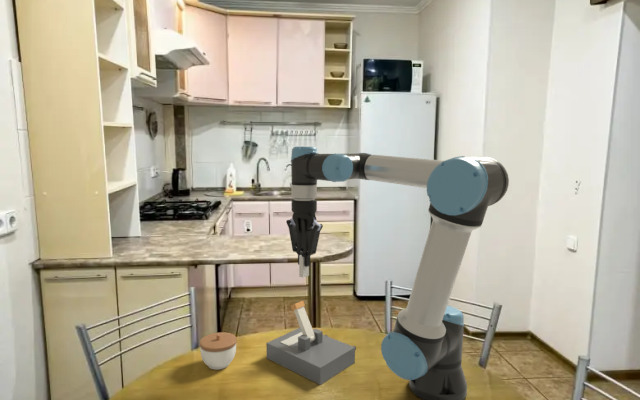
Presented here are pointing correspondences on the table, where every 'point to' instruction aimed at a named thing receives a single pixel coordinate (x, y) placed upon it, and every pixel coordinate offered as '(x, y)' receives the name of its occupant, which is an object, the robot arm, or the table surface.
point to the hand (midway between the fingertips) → (304, 275)
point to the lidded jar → (218, 349)
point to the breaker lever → (303, 320)
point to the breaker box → (311, 355)
